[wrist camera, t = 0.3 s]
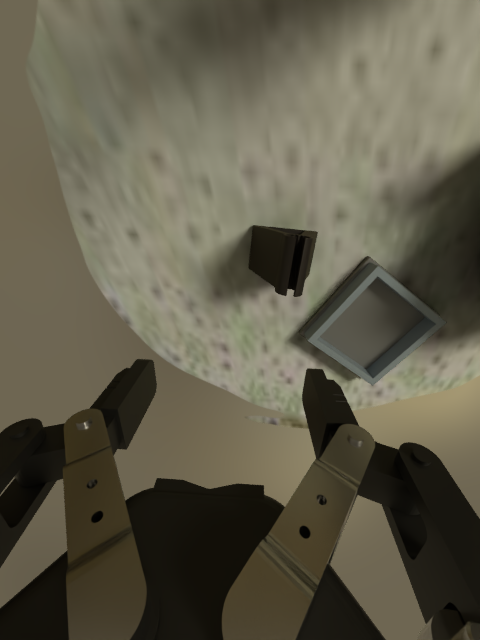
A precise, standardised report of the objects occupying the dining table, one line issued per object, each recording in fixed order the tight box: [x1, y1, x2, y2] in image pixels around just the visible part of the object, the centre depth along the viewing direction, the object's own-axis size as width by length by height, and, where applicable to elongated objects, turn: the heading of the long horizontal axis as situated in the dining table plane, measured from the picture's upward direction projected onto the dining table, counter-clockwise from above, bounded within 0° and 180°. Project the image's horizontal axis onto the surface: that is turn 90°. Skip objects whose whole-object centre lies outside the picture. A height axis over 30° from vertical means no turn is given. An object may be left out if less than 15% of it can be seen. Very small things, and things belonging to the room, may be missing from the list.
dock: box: [299, 256, 447, 385], centre depth 39 cm, size 15×15×3 cm
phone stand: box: [249, 225, 318, 297], centre depth 31 cm, size 9×6×12 cm, turn 84°
